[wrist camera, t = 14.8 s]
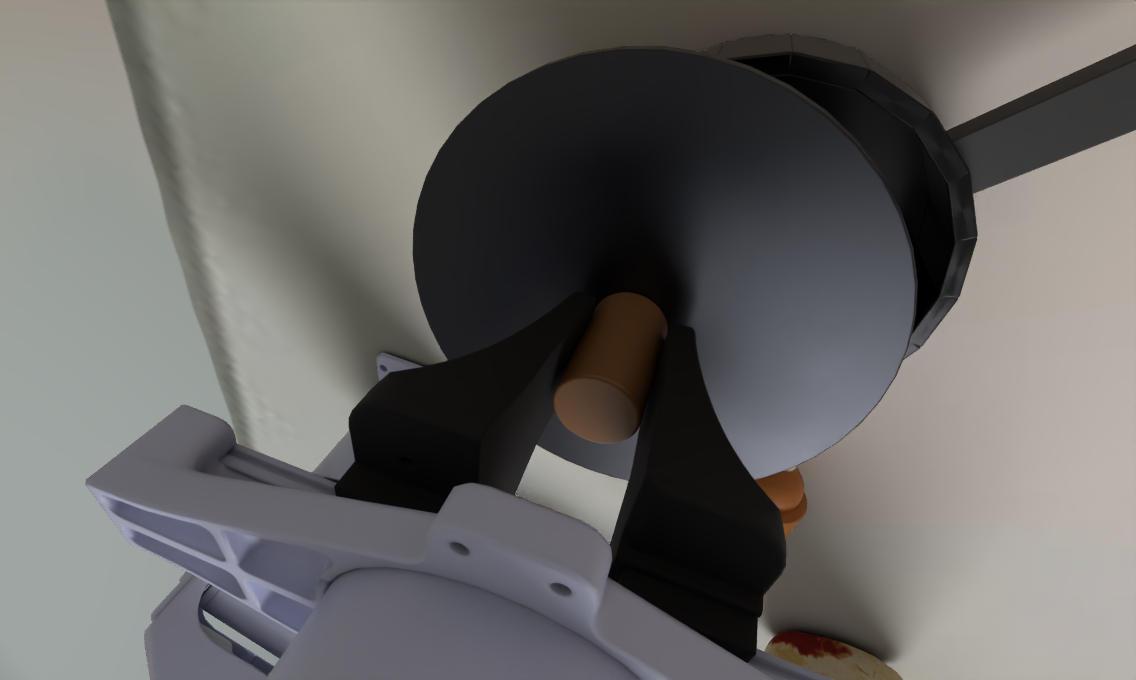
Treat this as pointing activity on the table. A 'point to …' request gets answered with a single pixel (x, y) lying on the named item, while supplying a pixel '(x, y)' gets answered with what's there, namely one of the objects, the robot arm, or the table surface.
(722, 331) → the pan lid
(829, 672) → the food model
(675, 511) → the robot arm
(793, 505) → the drumstick
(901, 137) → the pan
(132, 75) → the table surface
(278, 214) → the table surface
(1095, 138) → the pan handle
